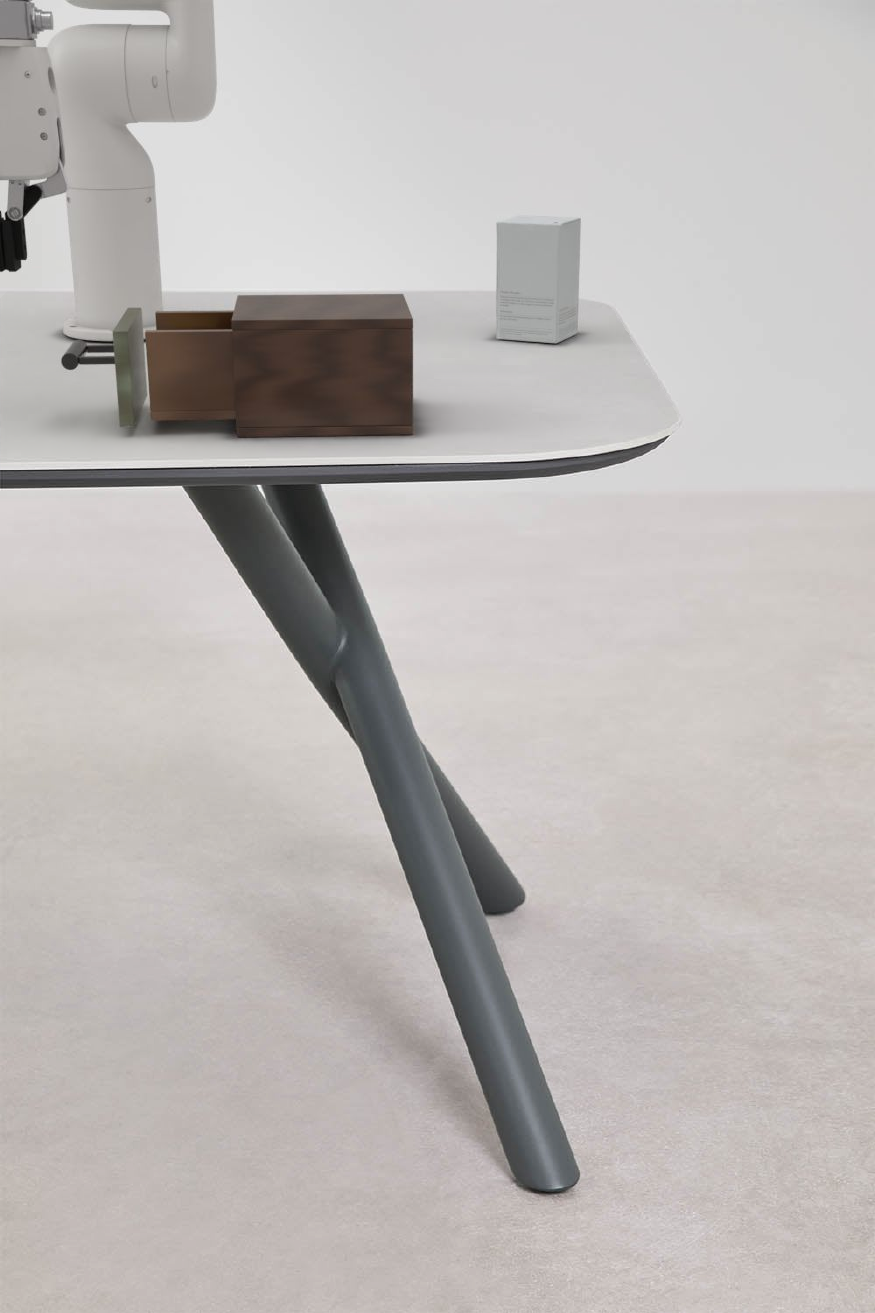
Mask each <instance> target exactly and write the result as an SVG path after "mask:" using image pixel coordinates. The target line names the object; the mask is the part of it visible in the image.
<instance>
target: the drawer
mask: <svg viewBox="0 0 875 1313" xmlns="http://www.w3.org/2000/svg"><path fill="white" fill-rule="evenodd" d="M233 312H234V309H233V310H232V309H231V310H229V309H228V310H227V309H226V310H163V311H156V313H155V316H156V330H146V331H145V339H144V337H143V323H142V309H141V308H127V310H126V312H125V313H124V315H123V316H122V318H121V319H120V321H119V322H118V324H117V326H116V327H115V329H114V330H113V341H112V342H113V343H112V344H87V342H86V341H85V340H82V339H75V340H74V341H73V342H72V343H71V344H70V346H69V347H68V348H67V350H66V351H65V352H64V354H63V355H62V357H61V360H60V363H61V366H62V367H63V368H64V369H66V370H68V371H73V370H76V368H78V366H79V365H86V366H87V365H114V369H115V382H116V383H115V384H116V393H117V394H116V395H117V396H116V397H117V408H118V419H119V420H118V421H119V427H124V428H125V427H126V428H127V427H135V426H136V424H137V421H138V419H139V416H140V414H141V411H142V409H143V407H144V405H145V402H146V400H147V397H149V410H150V420H151V422H152V421H153V422H154V421H209V420H210V421H212V420H214V421H216V420H217V421H219V420H222V421H223V420H236V408H235V386H234V365H233V344H232V323H231V320H232V316H233ZM145 351H146V354H145ZM98 353H99V354H100V353H101V354H102V353H103V354H105V353H107V354H108V353H110V354H111V353H113V355H86V354H98ZM146 365H147V366H146ZM146 368H147V369H146ZM147 380H148V381H147ZM148 395H149V396H148Z"/></svg>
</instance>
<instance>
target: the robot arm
mask: <svg viewBox="0 0 875 1313" xmlns="http://www.w3.org/2000/svg"><path fill="white" fill-rule="evenodd" d="M32 1H33V0H0V181H8V185H7V186H8V187H7V188H8V189H7V208H6V211H5V212H4V217H3V215H2V210H0V273H3V272H5V271H8V272H9V273H16V272H18V271H19V270H21V268H22V261H27V259H28V247H27V246H28V245H27V236H26V227H25V218H26V217H27V216H28V214H29V212H30V211H31V210H33V208H34V207H35V206H36V205H37V204H38V203H39V201H40V200H43V199H46V198H50V197H55V196H59V195H62V194H65V200H66V210H67V214H66V215H67V224H68V234H69V235H68V237H69V248H70V259H71V260H70V261H71V270H72V282H73V294H74V305H75V317H72V318H69V319H67V320H65V321H63V323H62V332H63V334H64V335H65V336H66V337H69V338H72V339H75V340H83V341H93V342H113V330H114V329H115V327H116V326H117V324H118V322H119V321H120V319H121V318H122V316H123V315H124V313H125V312H126V310H127V308H141V309H142V323H143V337H144V340H146V339H145V331H146V330H156V316H155V313H156V311H164V302H163V288H162V286H163V285H162V272H161V258H160V257H161V256H160V243H159V242H160V241H159V226H158V224H159V223H158V211H157V209H158V208H157V196H156V195H157V194H156V176H155V175H156V174H155V169H154V165H153V162H152V160H151V158H150V155H149V154H148V151H146V149H145V148H144V147H143V145H142V144H141V143H140V142H139V140H138V139H137V138H136V137H135V135H134V134H133V133H132V132H131V131H130V129H129V128H128V127H127V125H128V124H138V123H193V122H194V123H195V122H199V121H202V120H204V119H206V118H208V117H209V116H210V115H211V113H212V112H213V110H214V107H215V104H216V100H217V89H218V88H217V87H218V84H217V83H218V81H217V80H218V79H217V76H218V75H217V55H216V54H217V52H216V30H215V11H214V8H215V7H214V0H65V1H66V2H67V3H68V4H70V5H71V6H74V7H77V8H79V9H80V8H81V9H87V10H96V11H97V10H99V11H149V12H150V11H155V12H156V11H158V12H162V13H164V14H165V15H167V17H168V19H169V24H131V23H86V24H78V25H73V26H68V27H66V28H63V29H61V30H60V31H58V32H56V34H54V35H53V36H52V37H51V39H50V40H49V41H48V44H47V46H37V40H38V35H40V32H41V33H42V32H44V31H53V30H54V27H55V26H54V15H53V12H52V11H43V10H42V9H38V7H36V6H35V5H36V4H35V2H32ZM45 179H46V180H45ZM38 180H39V182H36V183H33V184H31V181H38ZM40 180H44V181H40Z"/></svg>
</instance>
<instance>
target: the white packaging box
mask: <svg viewBox="0 0 875 1313" xmlns="http://www.w3.org/2000/svg"><path fill="white" fill-rule="evenodd" d="M581 220H582V219H581V217H571V216H570V217H569V216H545V215H544V216H542V215H522V214H520V215H515V216H513V217H510V218H505V219H504V220H499V221H497V222H496V224H495V225H496V278H495V279H496V281H495V282H496V283H495V284H496V288H495V290H496V292H495V316H496V320H495V336H496V340H508V341H520V342H533V343H544V344H545V343H547V344H558V343H561V342H562V341H565V340H567V339H569V338H571V337H573V336H576V335H577V334H578V332H579V301H580V300H579V297H580V296H579V294H580V268H581V266H580V265H581V263H580V261H581V225H582V224H581V223H582V221H581Z"/></svg>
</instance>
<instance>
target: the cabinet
mask: <svg viewBox="0 0 875 1313" xmlns="http://www.w3.org/2000/svg"><path fill="white" fill-rule="evenodd" d="M233 310H234V312H233V316H232V320H231V323H232V344H233V365H234V386H235V408H236V419H235V426H236V437H237V438H275V437H276V438H277V437H278V438H279V437H280V438H281V437H283V438H285V437H342V436H343V437H347V436H353V437H354V436H410V435H414V317H413V315H412V312H411V311H410V306H409V305H408V302H407V300H406V298H405V295H404V293H358V294H357V293H355V294H354V293H353V294H352V293H351V294H350V293H349V294H348V293H346V294H343V293H341V294H340V293H339V294H337V293H336V294H332V293H331V294H238V295H237V297H236V300H235V306H234V308H233Z"/></svg>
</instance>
